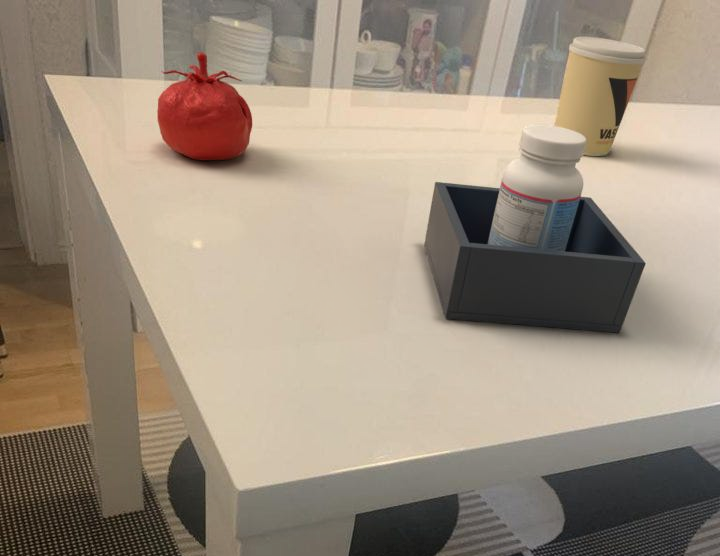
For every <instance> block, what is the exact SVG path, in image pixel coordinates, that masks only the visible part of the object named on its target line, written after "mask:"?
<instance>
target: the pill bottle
mask: <svg viewBox="0 0 720 556" xmlns="http://www.w3.org/2000/svg"><path fill="white" fill-rule="evenodd" d="M585 144H586V138H585V137H584V136H583V135H582V134H580V133H578V132H575V131H572V130H569V129H566V128H562V127H557V126H554V125H549V124H530V125H526V126H525V127H523V128H522V132H521V136H520V141H519V143H518V145H519V148H518V151H519V153H520V156H519V157H517V158H515V159H512V160H511V161H510V162H509V163H508V164H507V165H506V167H505V168H504V170H503V173H502V177H501V182H500V186H499V188H500V190H499V195H498V199H497V204H496V208H495V213H494V217H493V222H492V226H491V231H490V235H489V240H488V244H489V245H499V246H510V247H521V248H532V249H543V250H553V251H564V252H565V249H566V245H567V242H568V239H569V235H570V232H571V228H572V225H573V221H574V218H575V215H576V211H577V208H578V204H579V201H580V197H582V193H583V189H584V177H583V175H582V173H581V172H580V170H579V169H577V168H576V165H577V164H578V163H580V161H581V158H583V156H584V155H583V152H584V148H585Z"/></svg>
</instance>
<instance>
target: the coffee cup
mask: <svg viewBox="0 0 720 556" xmlns="http://www.w3.org/2000/svg"><path fill="white" fill-rule="evenodd" d="M568 50H569V52H568V57H567V62H566V66H565V69H564V70H565V71H564V76H563V81H562V85H561V90H560V95H559V101H558V106H557V111H556V116H555V121H554V125H553V126H557V127H562V128H566V129H569V130H572V131H575V132H578V133H580V134H582V135H583V136H584V137H585V138H586V144H585V148H584V152H583V156H589V157H604V156H607V155H609V153H610V152H611V149H612V146H613V144H614V141H615V139H616V136H617V133H618V131H619V129H620V126H621V123H622V120H623V118H624V115H625V112H626V110H627V107H628V105H629V103H630V99H631V97H632V94H633V91H634V89H635V86H636V84H637V81H638V78H639V76H640V73H641V70H642V67H643V65H644V64H645V62H646V59H647V58H646V49H644V48H643V47H641V46H638V45H634V44H631V43H628V42H624V41H619V40H614V39H609V38H601V37H595V36H594V37H593V36H576V37H574V38H573V40H572V43H570V44H569V47H568Z"/></svg>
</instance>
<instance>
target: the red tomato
mask: <svg viewBox="0 0 720 556" xmlns="http://www.w3.org/2000/svg"><path fill="white" fill-rule="evenodd" d="M196 60H197V61H198V66H197V65H194V64H193V65H191V64H189V65H188V67H189V69H191V70H193V71H194V72H189V73H186V72H183V71H182V72H181V71H178V70H176V69H172V70H168V71H162V70H161V73H163V74H164V75H169V74H178V75H181V76H184V77H186V79H185V80H180V81H177V82H172V83H171V84H170V85H169V86H167V87H166V89H165V90H163V91H162V92H161V94H160V95H159V97H158V99H157V118H156V119H157V123H158V127H159V132H160V135H161V139H162V140H163V142H164V143H165V144H166V145H167V147H169V148H170V149H171V150H173V151H174V152H176V153H179V154H180V155H181V154H182V155H183V156H186V157H188V158H190V159H194V160H199V161H222V160H229V159H235V158H237V157H238V156H239V155H242V154H243V153H244V152H245V151H246V150H247V148H248V147H249V145H250V139H251V132H252V129H253V115H252V111H251V109H250V106H249V104H248V103H247V101H246V99H245V98H244V97H243V95H240V93H239V91H238V90H237V89H236V88H235V87H234V86H233V85H231V84H229V83H228V82H225V81H223V80H222V79H225V78H229V79H233V80H236V81H239V82H242V81H243V80H242V79H239V78H237V77H235V76H232V74H228V72H226V71H225V70H221V71H219V72H216V73H212V74H210V75H208V56H207V54H206V53H204V52H203V51H200V52H197V53H196ZM222 75H223V76H222Z"/></svg>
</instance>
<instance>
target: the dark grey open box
mask: <svg viewBox="0 0 720 556" xmlns="http://www.w3.org/2000/svg"><path fill="white" fill-rule="evenodd" d="M499 190H500V187H492V186H483V185H482V186H481V185H471V184H462V183H461V184H459V183H453V182H452V183H451V182H441V181H435V182H434V185H433V191H432V198H431V203H430V210H429V215H428V221H427V225H426V226H427V227H426V233H425V238H424V244H423V247H424V250H425V254H426V257H427V261H428V265H429V268H430V271H431V274H432V277H433V281H434V284H435V288H436V291H437V295H438V298H439V302H440V305H441V308H442V313H443V315H444V318H445V319H447V320H457V321H469V322H470V321H471V322H482V323H483V322H484V323H494V324H507V325H508V324H509V325H520V326H532V327H543V328H544V327H545V328H546V327H547V328H558V329H570V330H582V331H595V332H607V333H621V330H622V328H623V326H624V323H625V320H626V318H627V316H628V315H627V314H628V313H629V309H630V307H631V304H632V301H633V299H634V296H635V293H636V291H637V288H638V285H639V282H640V279H641V277H642V275H643V272H644V269H645V266H646V262H645V260H644V259H643V257H641V255H639V253H638V252H637V251H636V250H635V248H634V247H633V245H632V244H631V243H630V242H629V241H628V240H627V239H626V238H625V237H624V235H623V234H622V233H621V232H620V230H619V229H618V228H617V227H616V225H614V224H613V222H612V221H611V220H610V219H609V217H608V216H607V214H605V213H604V211H603V210H602V209H601V208H600V207H599V206H598V204H597V203H596V202H595V201H594V200H593V198H592V197H588V196H581V197H580V201H579V204H578V208H577V211H576V215H575V218H574V221H573V225H572V228H571V232H570V235H569V239H568V242H567V245H566V249H565V252H564V251H553V250H543V249H532V248H521V247H510V246H499V245H489V244H488V240H489V235H490V231H491V226H492V222H493V217H494V213H495V208H496V204H497V199H498V195H499Z"/></svg>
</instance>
